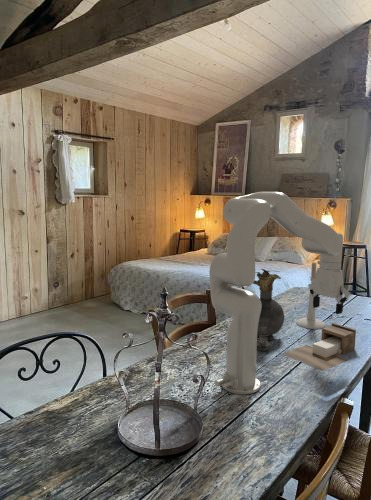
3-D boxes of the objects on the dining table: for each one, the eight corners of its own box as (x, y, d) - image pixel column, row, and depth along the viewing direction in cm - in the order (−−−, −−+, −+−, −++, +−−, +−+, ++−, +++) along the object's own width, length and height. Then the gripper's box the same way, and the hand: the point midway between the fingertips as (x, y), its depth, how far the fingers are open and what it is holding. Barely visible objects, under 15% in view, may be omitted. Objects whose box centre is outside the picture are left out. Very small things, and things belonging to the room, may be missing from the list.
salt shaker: (270, 356, 155) (271, 325, 153) (254, 354, 156) (255, 324, 154) (270, 350, 161) (271, 320, 159) (255, 348, 162) (256, 319, 160)
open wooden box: (323, 373, 140) (324, 348, 139) (281, 356, 155) (282, 333, 153) (364, 355, 156) (365, 332, 155) (323, 340, 170) (324, 320, 169)
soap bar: (326, 357, 151) (326, 348, 151) (312, 352, 156) (312, 343, 155) (348, 348, 160) (349, 339, 160) (334, 343, 165) (335, 335, 164)
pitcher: (276, 345, 165) (280, 273, 161) (235, 335, 176) (236, 267, 171) (286, 337, 174) (289, 268, 169) (246, 328, 185) (248, 263, 180)
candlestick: (330, 325, 189) (334, 262, 185) (312, 331, 182) (316, 265, 178) (308, 318, 200) (311, 258, 195) (290, 323, 193) (293, 260, 188)
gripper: (304, 263, 155) (302, 306, 158) (345, 270, 142) (342, 318, 144) (316, 261, 160) (313, 303, 162) (357, 268, 146) (354, 314, 149)
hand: (327, 310), depth 153 cm, fingers open, 9 cm apart
